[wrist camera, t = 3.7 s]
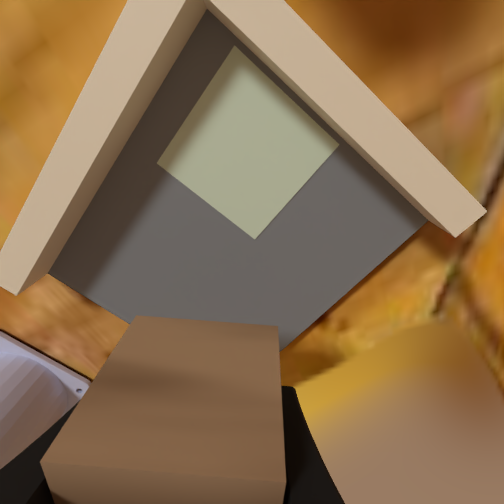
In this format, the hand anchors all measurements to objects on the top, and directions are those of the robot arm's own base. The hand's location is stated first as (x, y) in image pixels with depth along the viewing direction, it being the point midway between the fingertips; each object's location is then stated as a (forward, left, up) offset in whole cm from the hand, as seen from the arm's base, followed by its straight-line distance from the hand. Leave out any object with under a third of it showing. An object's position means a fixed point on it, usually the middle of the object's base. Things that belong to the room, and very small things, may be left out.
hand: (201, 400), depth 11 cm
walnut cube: (0, 0, -1) cm, 1 cm away
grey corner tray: (+2, +2, -9) cm, 10 cm away
